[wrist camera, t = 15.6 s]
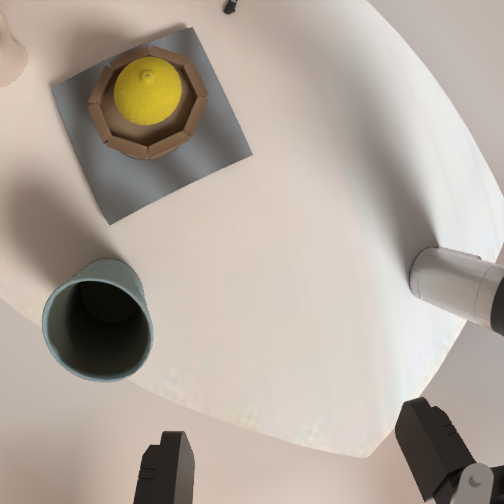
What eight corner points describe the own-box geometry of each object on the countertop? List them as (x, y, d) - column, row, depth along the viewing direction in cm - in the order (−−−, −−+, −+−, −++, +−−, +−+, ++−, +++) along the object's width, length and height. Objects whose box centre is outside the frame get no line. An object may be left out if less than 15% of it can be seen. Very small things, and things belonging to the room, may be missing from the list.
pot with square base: (190, 32, 32) (202, -4, 24) (249, 156, 37) (275, 147, 29) (55, 92, 29) (32, 68, 21) (111, 224, 34) (98, 234, 26)
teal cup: (56, 286, 33) (21, 324, 22) (114, 232, 34) (96, 250, 23) (110, 346, 36) (100, 401, 25) (169, 297, 38) (177, 341, 26)
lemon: (124, 139, 26) (114, 121, 19) (114, 85, 25) (104, 52, 17) (182, 124, 27) (193, 102, 20) (172, 72, 26) (179, 35, 19)
